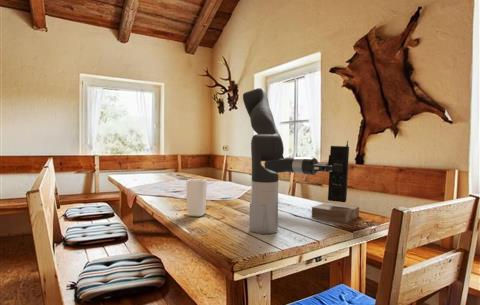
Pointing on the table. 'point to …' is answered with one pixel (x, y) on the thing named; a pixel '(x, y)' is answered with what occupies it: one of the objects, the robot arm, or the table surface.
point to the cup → (196, 196)
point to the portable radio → (338, 173)
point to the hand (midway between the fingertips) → (343, 168)
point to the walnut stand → (335, 212)
